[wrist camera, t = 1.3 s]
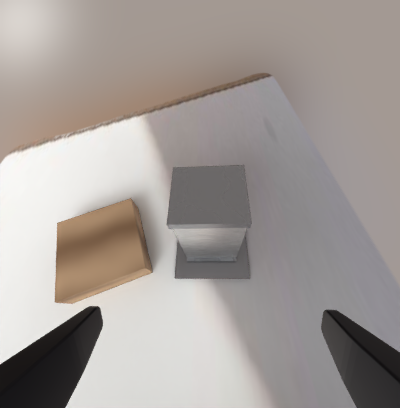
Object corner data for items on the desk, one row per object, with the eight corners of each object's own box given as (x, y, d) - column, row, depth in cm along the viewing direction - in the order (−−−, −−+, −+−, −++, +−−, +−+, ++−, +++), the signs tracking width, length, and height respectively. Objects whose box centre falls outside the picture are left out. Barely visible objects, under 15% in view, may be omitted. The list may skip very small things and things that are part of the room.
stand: (152, 272, 21) (145, 267, 19) (71, 303, 20) (54, 302, 18) (138, 208, 26) (131, 198, 24) (71, 230, 25) (57, 223, 23)
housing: (236, 262, 21) (251, 223, 12) (187, 262, 21) (166, 224, 12) (233, 222, 23) (243, 165, 14) (189, 223, 24) (173, 167, 15)
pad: (249, 278, 20) (250, 278, 20) (175, 278, 21) (174, 277, 21) (242, 212, 24) (242, 210, 24) (180, 213, 25) (179, 212, 25)
